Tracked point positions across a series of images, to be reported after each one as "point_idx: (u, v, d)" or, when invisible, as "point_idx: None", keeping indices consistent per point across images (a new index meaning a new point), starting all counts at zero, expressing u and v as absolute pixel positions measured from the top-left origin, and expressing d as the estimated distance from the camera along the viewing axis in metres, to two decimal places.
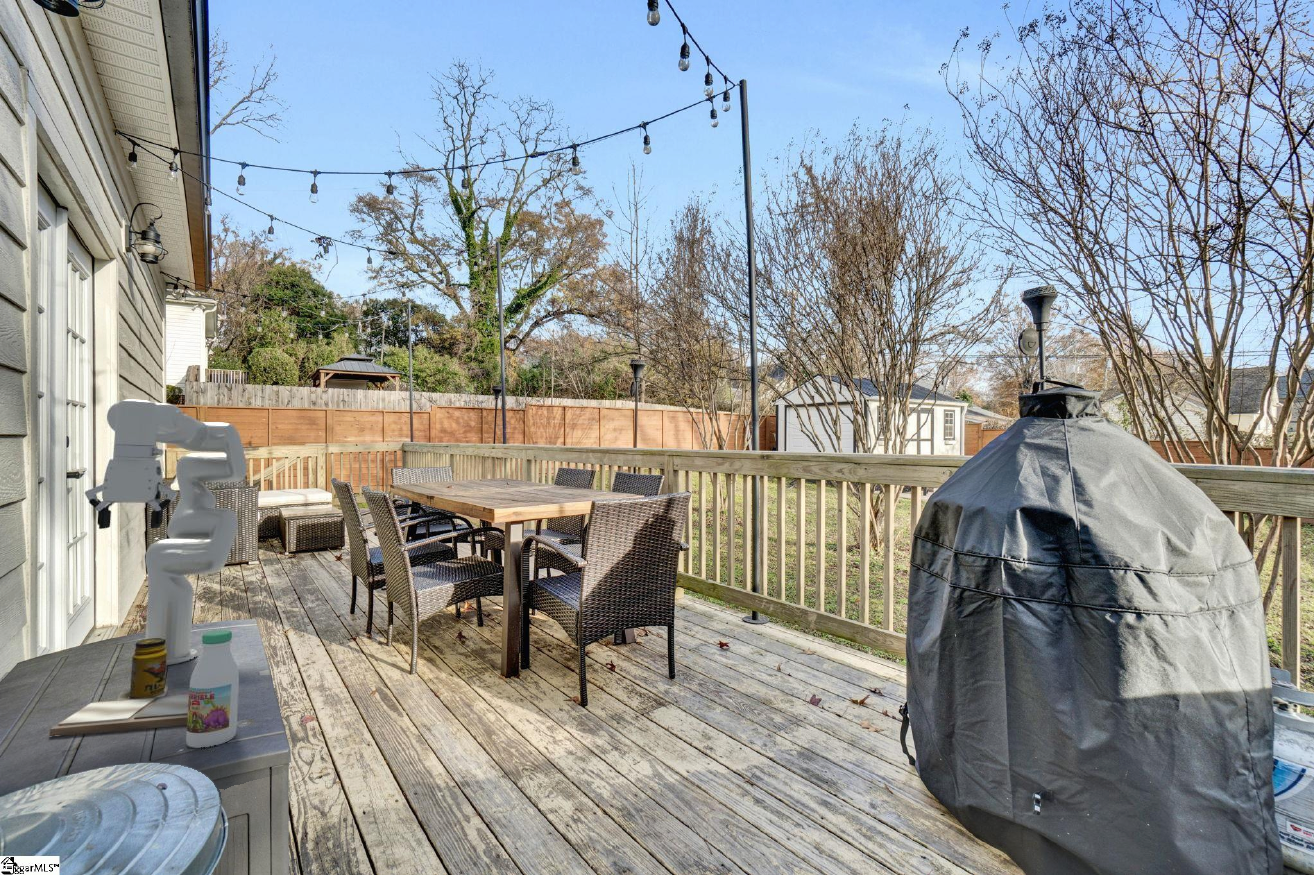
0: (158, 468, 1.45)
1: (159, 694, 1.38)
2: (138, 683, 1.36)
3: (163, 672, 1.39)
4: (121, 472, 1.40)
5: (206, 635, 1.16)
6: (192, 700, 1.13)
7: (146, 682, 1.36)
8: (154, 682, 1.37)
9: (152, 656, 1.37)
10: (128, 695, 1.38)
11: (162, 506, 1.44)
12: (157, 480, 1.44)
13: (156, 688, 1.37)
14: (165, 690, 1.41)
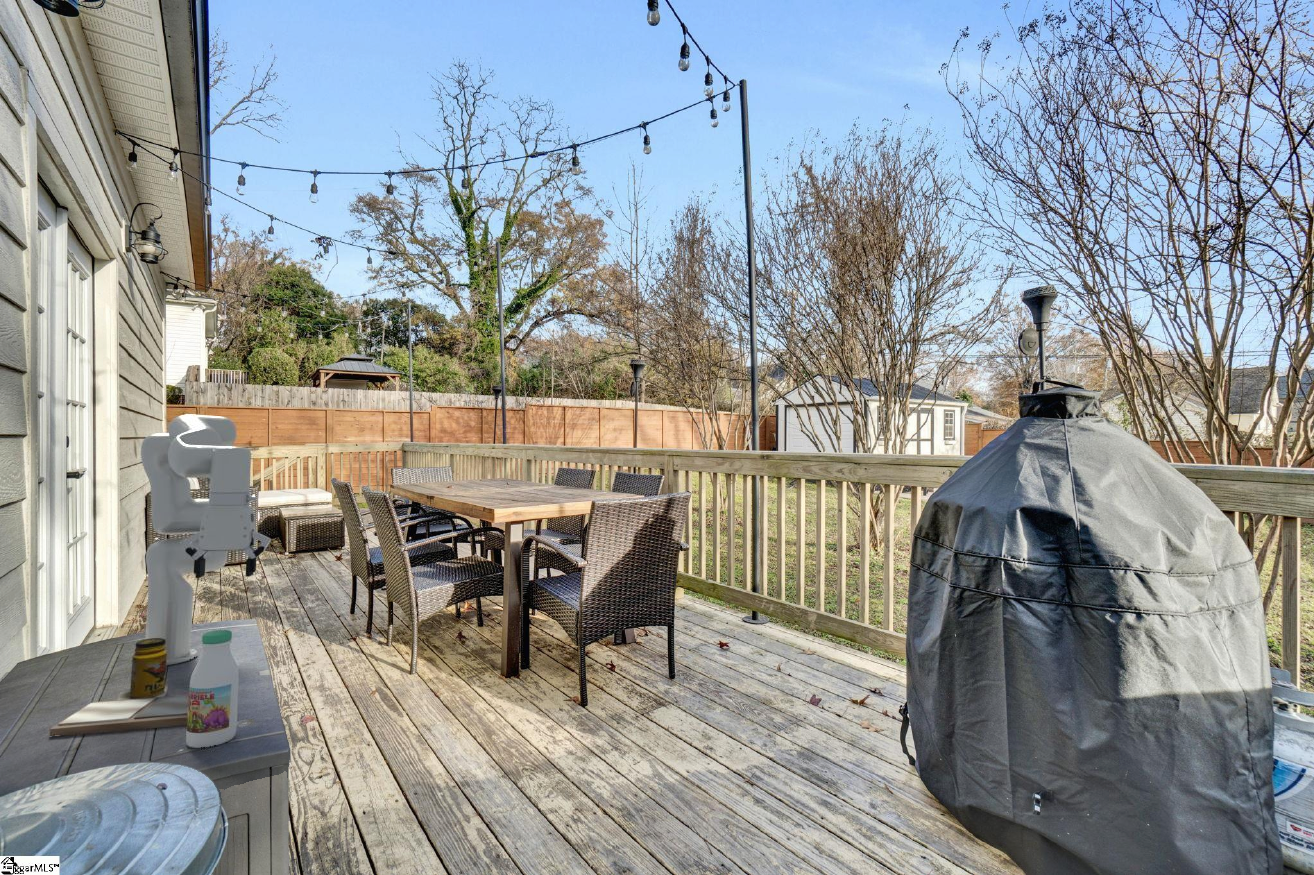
0: (251, 515, 1.43)
1: (159, 694, 1.38)
2: (138, 683, 1.36)
3: (163, 672, 1.39)
4: (217, 520, 1.38)
5: (206, 635, 1.16)
6: (192, 700, 1.13)
7: (146, 682, 1.36)
8: (154, 682, 1.37)
9: (152, 656, 1.37)
10: (128, 695, 1.38)
11: (256, 553, 1.42)
12: (251, 527, 1.42)
13: (156, 688, 1.37)
14: (165, 690, 1.41)
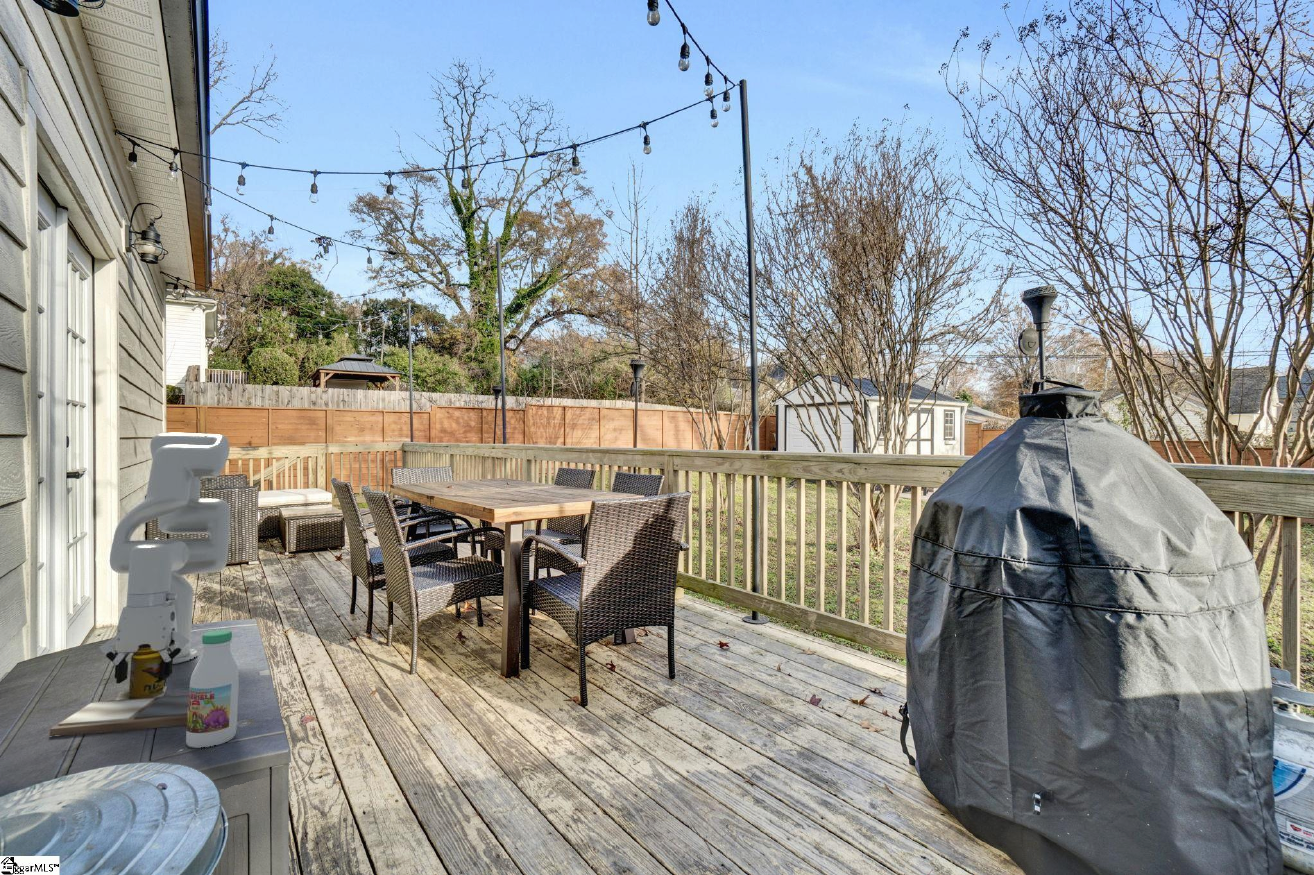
0: (172, 612, 1.41)
1: (158, 694, 1.38)
2: (137, 683, 1.36)
3: None
4: (134, 622, 1.36)
5: (206, 635, 1.16)
6: (192, 700, 1.13)
7: (145, 682, 1.36)
8: (153, 682, 1.37)
9: (151, 656, 1.37)
10: (127, 695, 1.38)
11: (172, 656, 1.39)
12: (171, 626, 1.40)
13: (155, 688, 1.37)
14: (164, 690, 1.41)
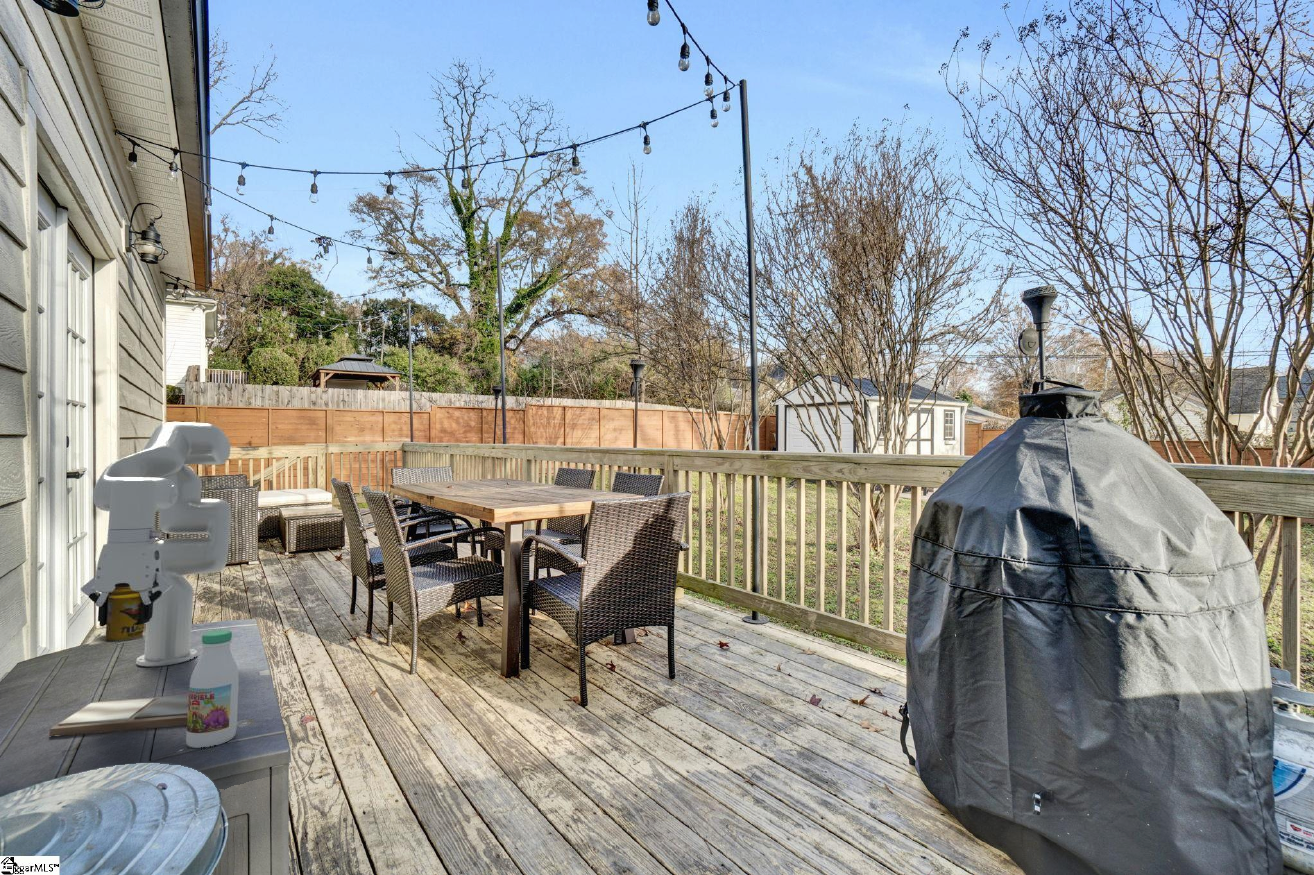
0: (156, 552, 1.33)
1: (137, 637, 1.29)
2: (114, 624, 1.27)
3: None
4: (115, 559, 1.28)
5: (206, 635, 1.16)
6: (192, 700, 1.13)
7: (123, 623, 1.27)
8: (131, 624, 1.28)
9: (130, 596, 1.28)
10: (104, 638, 1.29)
11: (152, 599, 1.31)
12: (155, 566, 1.31)
13: (133, 630, 1.29)
14: (144, 634, 1.32)
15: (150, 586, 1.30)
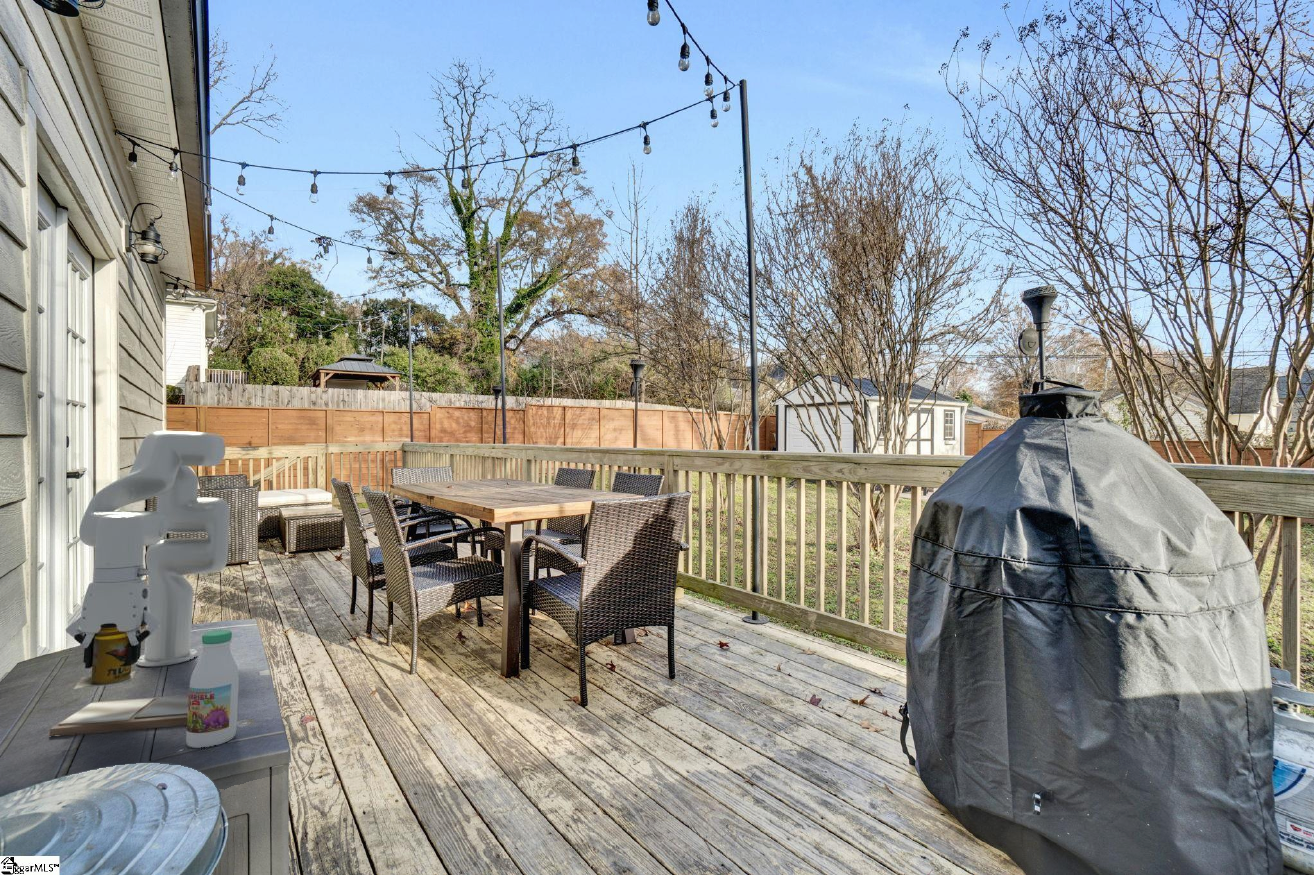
0: (144, 590, 1.28)
1: (124, 679, 1.25)
2: (100, 667, 1.22)
3: None
4: (101, 599, 1.23)
5: (206, 635, 1.16)
6: (192, 700, 1.13)
7: (109, 665, 1.23)
8: (118, 666, 1.24)
9: (116, 637, 1.24)
10: (90, 680, 1.24)
11: (140, 639, 1.26)
12: (143, 605, 1.27)
13: (120, 672, 1.24)
14: (131, 675, 1.28)
15: (137, 626, 1.25)
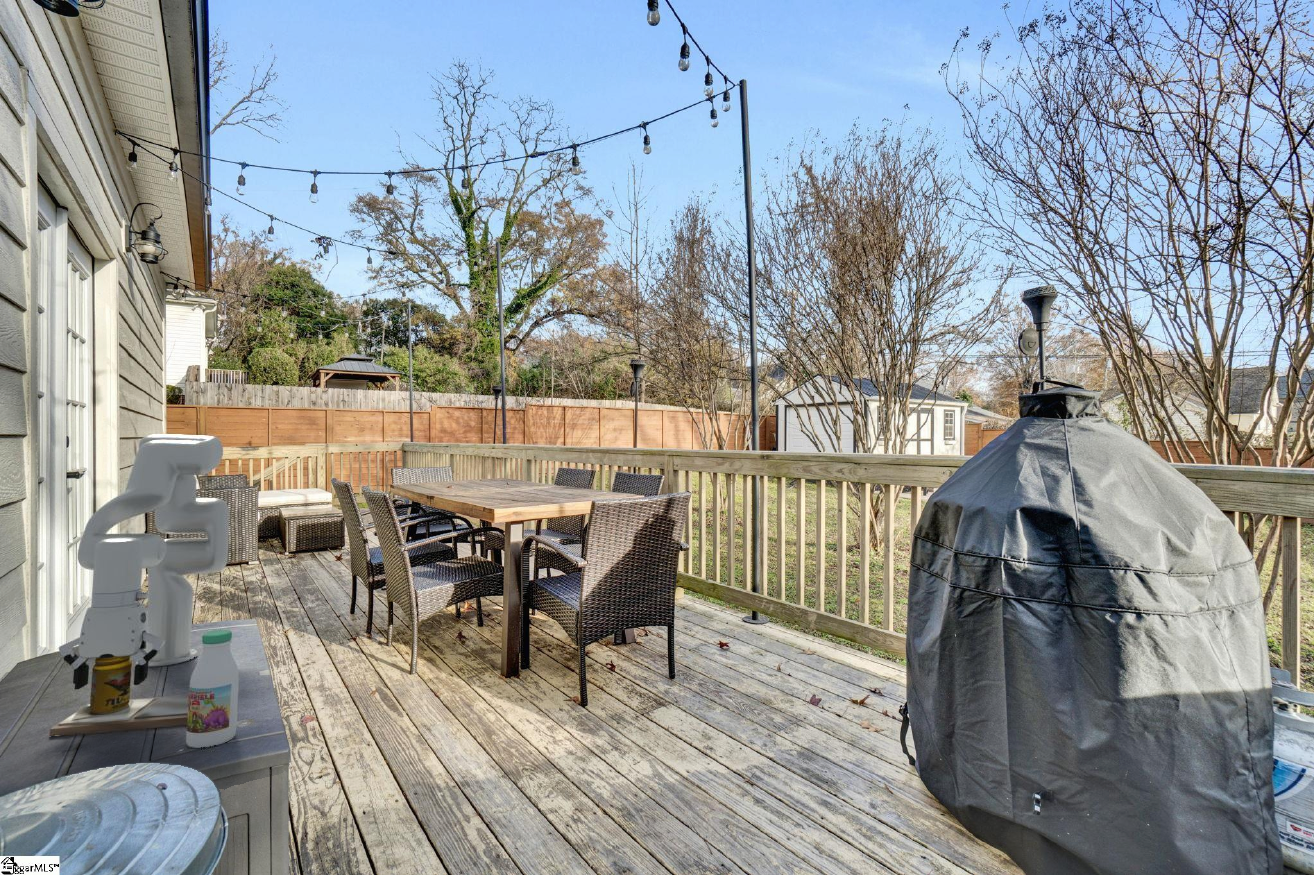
0: (143, 614, 1.28)
1: (122, 709, 1.25)
2: (98, 697, 1.22)
3: (127, 684, 1.26)
4: (100, 624, 1.23)
5: (206, 635, 1.16)
6: (192, 700, 1.13)
7: (107, 695, 1.23)
8: (116, 696, 1.24)
9: (115, 667, 1.24)
10: (88, 710, 1.24)
11: (147, 658, 1.27)
12: (142, 629, 1.27)
13: (119, 702, 1.24)
14: (130, 704, 1.28)
15: (136, 651, 1.25)
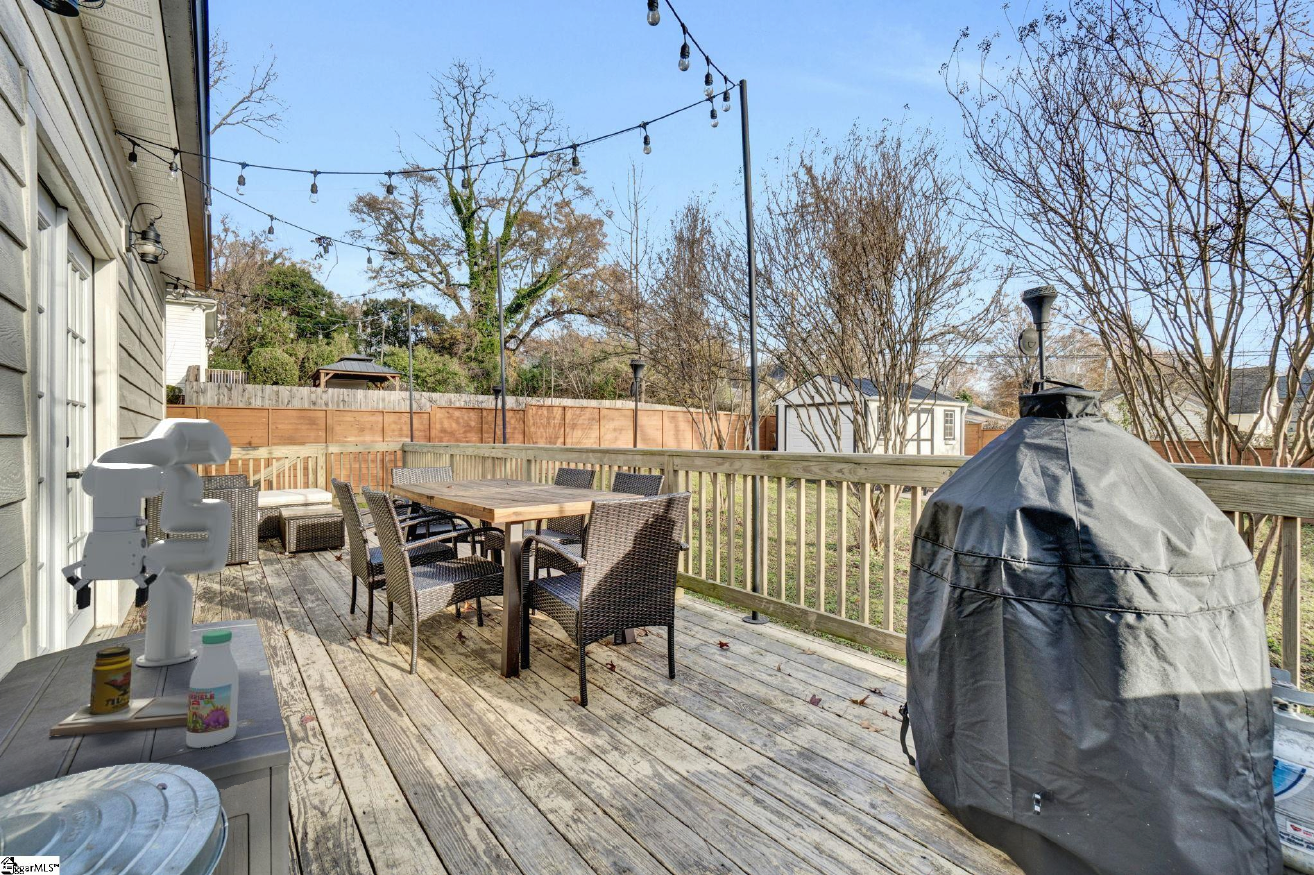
0: (143, 540, 1.32)
1: (122, 709, 1.25)
2: (98, 697, 1.22)
3: (127, 684, 1.26)
4: (101, 547, 1.27)
5: (206, 635, 1.16)
6: (192, 700, 1.13)
7: (107, 695, 1.23)
8: (116, 696, 1.24)
9: (115, 667, 1.24)
10: (88, 710, 1.24)
11: (148, 582, 1.31)
12: (142, 554, 1.31)
13: (119, 702, 1.24)
14: (130, 704, 1.28)
15: (137, 574, 1.29)
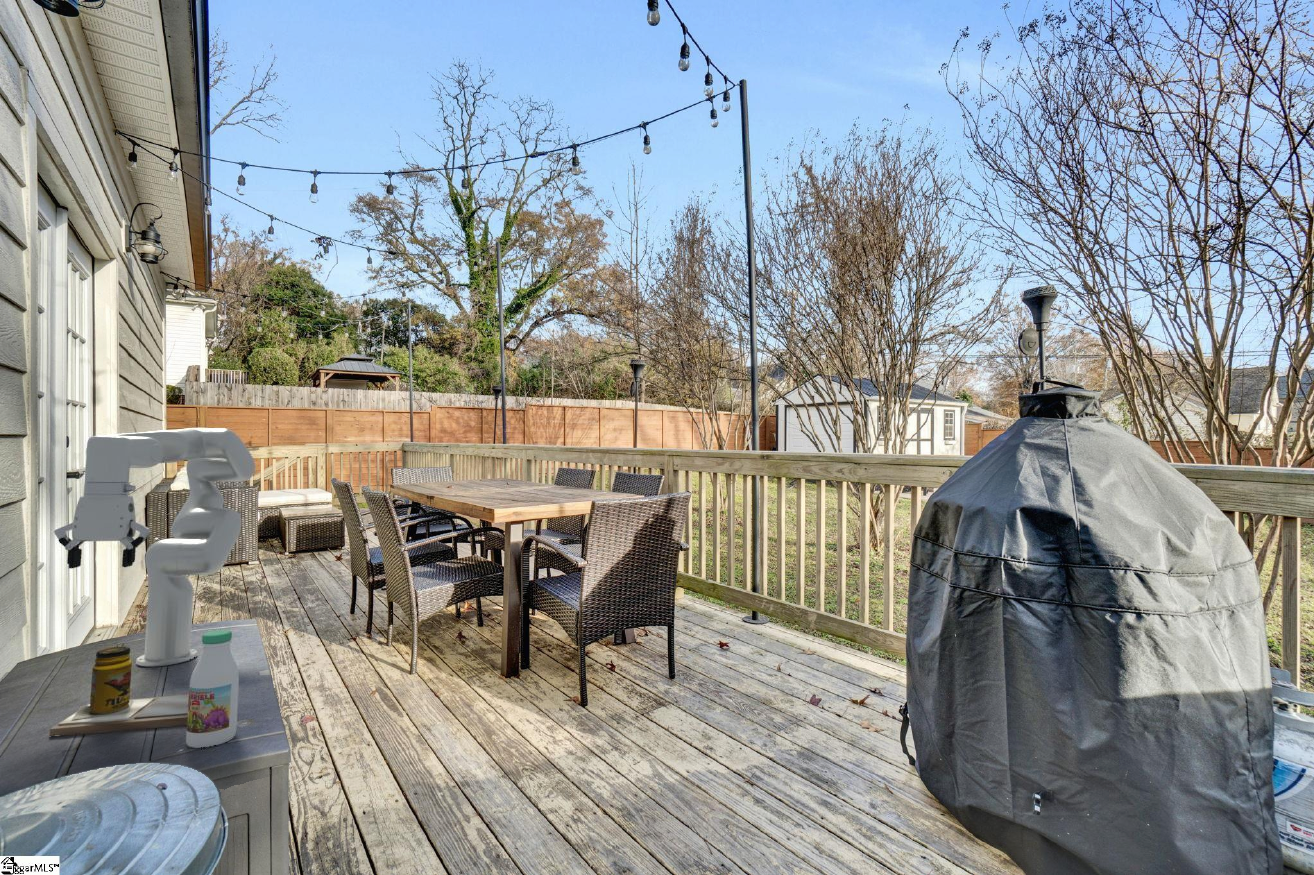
0: (131, 505, 1.41)
1: (122, 709, 1.25)
2: (98, 697, 1.22)
3: (127, 684, 1.26)
4: (91, 510, 1.36)
5: (206, 635, 1.16)
6: (192, 700, 1.13)
7: (107, 695, 1.23)
8: (116, 696, 1.24)
9: (115, 667, 1.24)
10: (88, 710, 1.24)
11: (134, 544, 1.40)
12: (129, 517, 1.40)
13: (119, 702, 1.24)
14: (130, 704, 1.28)
15: (124, 536, 1.39)
